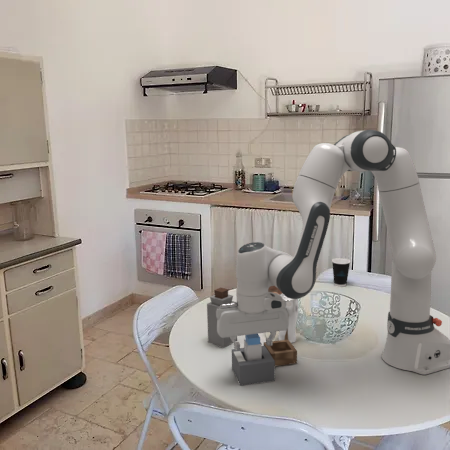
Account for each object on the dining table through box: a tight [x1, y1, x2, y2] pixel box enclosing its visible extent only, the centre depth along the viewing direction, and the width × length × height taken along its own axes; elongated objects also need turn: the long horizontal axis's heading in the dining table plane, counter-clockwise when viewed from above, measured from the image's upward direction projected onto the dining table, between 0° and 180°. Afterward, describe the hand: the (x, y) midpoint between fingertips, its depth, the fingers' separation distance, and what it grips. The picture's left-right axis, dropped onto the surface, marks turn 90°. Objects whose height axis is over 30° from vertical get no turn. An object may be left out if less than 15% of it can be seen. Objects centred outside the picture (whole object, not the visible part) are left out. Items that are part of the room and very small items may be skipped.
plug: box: [243, 333, 263, 361], centre depth 140 cm, size 4×4×12 cm
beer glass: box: [277, 293, 299, 344], centre depth 162 cm, size 7×7×15 cm
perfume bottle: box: [206, 287, 238, 349], centre depth 161 cm, size 7×7×18 cm
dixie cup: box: [331, 257, 352, 288], centre depth 213 cm, size 8×8×11 cm
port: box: [231, 344, 276, 386], centre depth 141 cm, size 10×10×6 cm
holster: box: [263, 340, 298, 367], centre depth 150 cm, size 8×8×4 cm
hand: (253, 347), depth 140 cm, fingers open, 8 cm apart
